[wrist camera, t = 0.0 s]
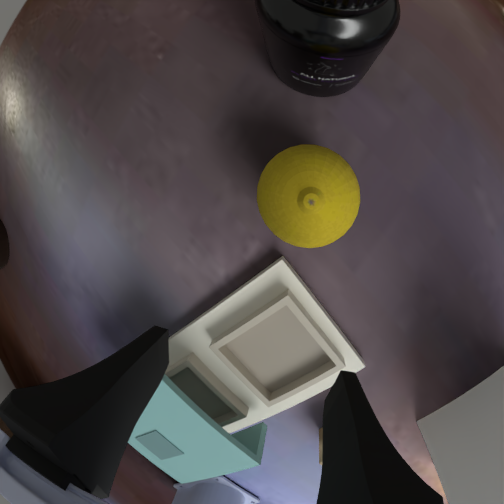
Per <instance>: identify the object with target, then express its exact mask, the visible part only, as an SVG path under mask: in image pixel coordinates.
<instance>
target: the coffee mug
mask: <svg viewBox="0 0 504 504" xmlns="http://www.w3.org/2000/svg"><path fill="white" fill-rule="evenodd" d="M8 259H9V241H8V236H7V232H6V229H5V227H4V225H3V223H2V221H1V220H0V269H1V268H3V267H4V266H5V265H6V264H7V262H8Z"/></svg>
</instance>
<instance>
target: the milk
mask: <svg viewBox="0 0 504 504" xmlns="http://www.w3.org/2000/svg"><path fill="white" fill-rule="evenodd" d="M416 422H417V424H418V427H419V429H420V431H421V434H422V436H423V438H424V441H425V443H426V446H427V448H428V450H429V453H430V455H431V458H432V460H433V463H434V465H435V468H436V470H437V473H438V476H439V478H440V481H441V484H442V486H443V489H444V492H445V495H446V497H447V500H448V503H449V504H504V366H503V367H501V368H500V369H499V370H497V371H496V372H495V373H493V374H492V375H491V376H489V377H488V378H486V379H485V380H484V381H482V382H481V383H479V384H478V385H476V386H475V387H473V388H472V389H470V390H469V391H467V392H466V393H464V394H463V395H461V396H460V397H458V398H456V399H455V400H453V401H452V402H450V403H448V404H447V405H445V406H443V407H442V408H440V409H438V410H436V411H435V412H433V413H431V414H429V415H427V416H425V417H424V418H422V419H420V420H418V421H416Z"/></svg>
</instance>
